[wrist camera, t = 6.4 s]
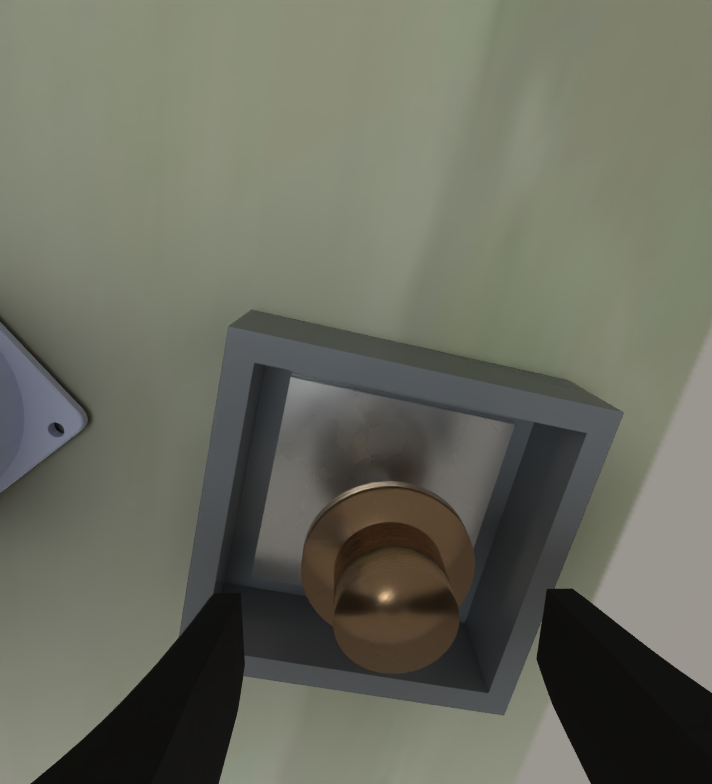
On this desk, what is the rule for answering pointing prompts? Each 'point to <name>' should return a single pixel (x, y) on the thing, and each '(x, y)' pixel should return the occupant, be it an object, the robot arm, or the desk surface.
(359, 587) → the plunger
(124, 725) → the robot arm
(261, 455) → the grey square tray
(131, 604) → the desk surface
